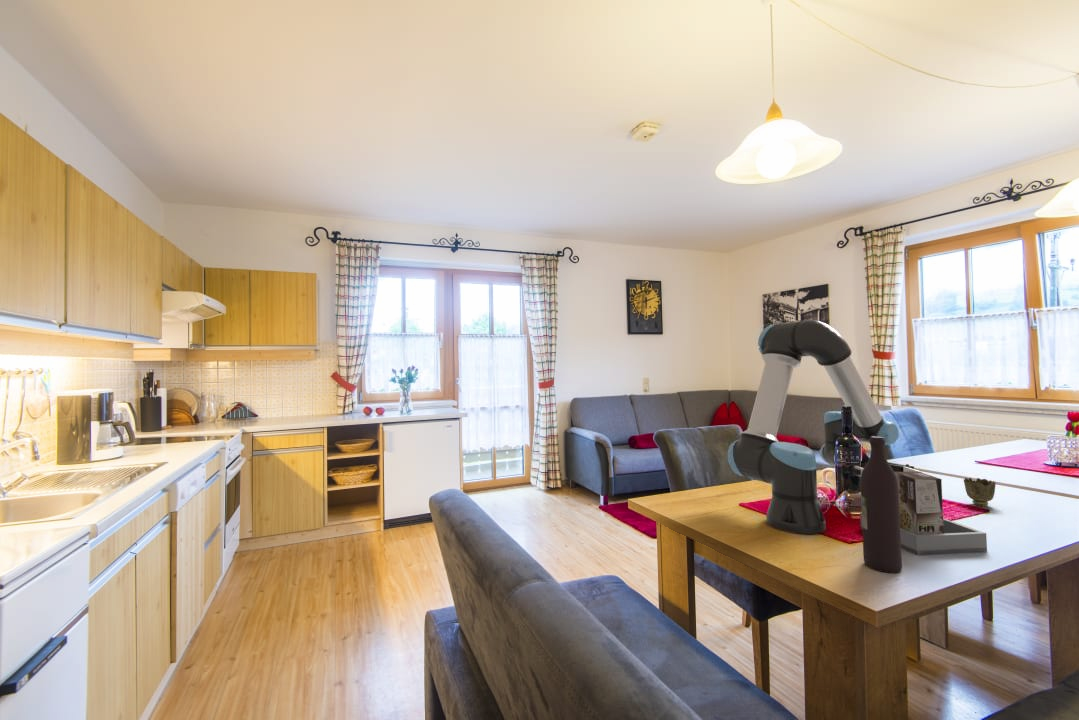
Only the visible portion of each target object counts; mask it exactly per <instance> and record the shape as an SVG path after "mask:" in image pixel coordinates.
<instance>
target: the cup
mask: <svg viewBox="0 0 1079 720" xmlns="http://www.w3.org/2000/svg"><path fill="white" fill-rule="evenodd" d="M963 483H964V489H965V492H966V495H967V496H968V497H969V499H971V500H972V504H973V505H975V506H978V507H988V506H989V502H991V501H992V500H994V498H995V491H996V481H993V480H989V481H988V479H987V478H982V479H981V478H979V477H977V478H976V479H972V478H971V477H969V478H968V477H965V478H964V479H963Z"/></svg>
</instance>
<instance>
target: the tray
mask: <svg viewBox="0 0 1079 720" xmlns="http://www.w3.org/2000/svg"><path fill="white" fill-rule="evenodd" d="M859 518H860V520H859V521H860V529H861V530H862V512H860V516H859ZM943 527H944V534H924V535H916V534H913V533H911V532H908V531H906V530H904V529H901V528H900V533H901V549H903V550H905V551H907V552H909V553H912V554H914V555H916V556H925V555H926V556H928V555H943V554H944V555H947V554H948V555H949V554H965V553H968V554H969V553H982V552H983V553H984V551H987V552H988V545H987V544H988V540H987V538H988V537H987V532H984V531H981V530H978V529H976V528H972V527H970V526H967V525H963V524H961V523H958V522H956V521H952V520H949V519H946V518H944V517H943Z"/></svg>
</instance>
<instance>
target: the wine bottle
mask: <svg viewBox="0 0 1079 720" xmlns="http://www.w3.org/2000/svg"><path fill="white" fill-rule="evenodd" d="M869 440H870V443H869V444H870V456H869V460H868V462H867V464H866V465H865V467H864V469H863V471H862V474H861V477H860V501H861V502H860V504H861V513H862V529H861V531H862V549H863V550H862V553H863V555H862V556H863V563H864V565H865V566H867V567H868V568H870V569H872V570H874V571H878V572H884V573H892V574H893V573H899V572H902V568H903V562H902V559H903V558H902V548H901V533H900V510H899V488H898V481H897V477H896V475H895V473H894V471H893V469H892V468H891V466H890V465H889V463H888V462H889V461H888V460H887V458H886V453H885V446H886V445H885V439H884V437H879V436H871V437H870V439H869Z"/></svg>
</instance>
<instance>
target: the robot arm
mask: <svg viewBox="0 0 1079 720" xmlns="http://www.w3.org/2000/svg"><path fill="white" fill-rule="evenodd" d="M757 346H758V347H759V348H758V350H759V352H760V354H761V355H762V356H761V359H762V361H763V362H764V367H763V370H762V374H761V377H760V382H759V385H758V390H757V393H756V396H755V400H754V404H753V409H752V412H751V415H750V419H749V422H748V423H749V424H748V426H747V428H746V430H744V431H742V432H741V434H740V437H739V439H737V440H734V441H733V442H732V443H731V444H730V445H729V447H728V450H727V461H728V464H729V466H730V469H731V470H732V471H733V472H734V473H735V474H736V475H738V476H741V477H743V478H746V479H748V480H755V481H758V482H762V483H767V484H770V485H771V499H770V502H769V505H768V509H767V512H766V523H767V524H768V525H769V526H770V527H772V528H774V529H777V530H779V531H783V532H788V533H792V534H800V535H814V534H815V535H817V534H822V533H825V531H826V530H827V526H826V519H825V516H824V515H823V512H822V510H821V509H822V508H821V506H820V504H819V501H818V479H817V477H818V476H817V475H818V473H817V468H818V464H817V460H816V454H815V452H814V451H813V449H811V448H810V447H808V446H806V445H802V444H799V443H794V442H788V441H787V442H786V441H779V440H778V438H777V435H778V431H779V427H780V422H781V419H782V416H783V410H784V407H785V403H786V399H787V396H788V391H789V387H790V384H791V380H792V375H793V371H794V369H796V368H798V367H799V366H800V365H801V362H802V358H803V357H812V358H813V359H815V360H816V362H817V363H818V365H820V366H822V367H824V369H825V371H826V373H827V374H828V376H829V378H830V380H831V381H832V383H833V385H834V387H835V389H836V391H837V392H838V394H839V396H840V398H841V399H842V402H843V404H844V405H845V407H846V406H851V407H852V412H853V435H854V436H856V437H858V438H859V440H860V441H859V442H862V443H869V444H870V440H869V439H870V437H871V436H879V437H884V439H885V445H884V446H889V445H891V446H893V445H894V444H895V443H896V442H897V440H898V439H899V436H900V435H899V434H900V430H899V428H898V425H897V424H896V423H894V422H891V421H888V420H886V421H885V420H884V418H883V417H882V414H881V413H880V410H879V409H878V407H877V405H876V404H875V400H874V399H873V397H872V396H871V393H870V392H869V390H868V388H867V386H866V384H865V383H864V380H863V378H862V377H861V375H860V372H859V371H858V369H857V367H856V365H855V363H854V362H853V359H852V358H851V356H852V349H851V347H850V346H849V344H848V343H847V341H846V340H845V338H844V337H843V336H842V335H841V334H840V333H839V332H838V331H837V330H836V329H834V328H833V327H832V326H830V325H829V324H827V323H825V322H824V321H823V322H822V321H820V320H815V319H804V320H798V321H797V320H796V321H791V322H789V321H788V322H778V323H775V324H770V325H768V326H766V327H765V328H764V329H763V330H762V331H761V332H760V335H759V336H758V340H757ZM841 412H842V411H837V410H836V411H827V412H825V413H824V416H823V417H824V421H823V429H824V430H823V431H824V444H823V445H821V447H820V449H819V456H820V458H821V459H822V460H823V461H824V462H825V463H827V464H829V465H831V466H833V467H836V466H835V442H836V440H837V439H838V438H839V437H841V436H842V419H841ZM869 458H870V456H869V455H867V454H866V453H865V452H863V459H862V461H861V467H859V466H858V465H859V463H858V464H851V465H849V467H846V463H842V462H841V466H842V469H841V474H844V475H845V474H847V473H848V476H849V477H852V478H854V477H855V476H857V477H859V478H861V474H862V471H863V469H864V467H865V465H866V464H867V462H868V460H869ZM888 463H889V465H890V466H891V468H892V469H893V471H894V472H907V471H915V472H921V473H923V472H922V471H921V470H918V469H915V466H914V465H910V464H908V463H907V464H901V463H896V462H889V461H888Z"/></svg>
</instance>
